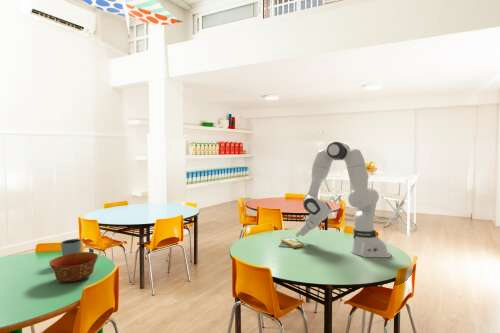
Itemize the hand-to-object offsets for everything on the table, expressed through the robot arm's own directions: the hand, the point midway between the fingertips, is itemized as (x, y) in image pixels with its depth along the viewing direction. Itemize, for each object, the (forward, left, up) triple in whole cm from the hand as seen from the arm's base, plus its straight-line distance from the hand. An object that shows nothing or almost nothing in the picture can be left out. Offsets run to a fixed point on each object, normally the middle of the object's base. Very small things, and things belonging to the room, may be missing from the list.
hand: (296, 235), depth 219 cm
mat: (+5, 0, -5) cm, 8 cm away
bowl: (+99, +86, -6) cm, 132 cm away
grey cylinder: (+119, +66, -6) cm, 137 cm away
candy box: (-1, 0, -4) cm, 4 cm away
